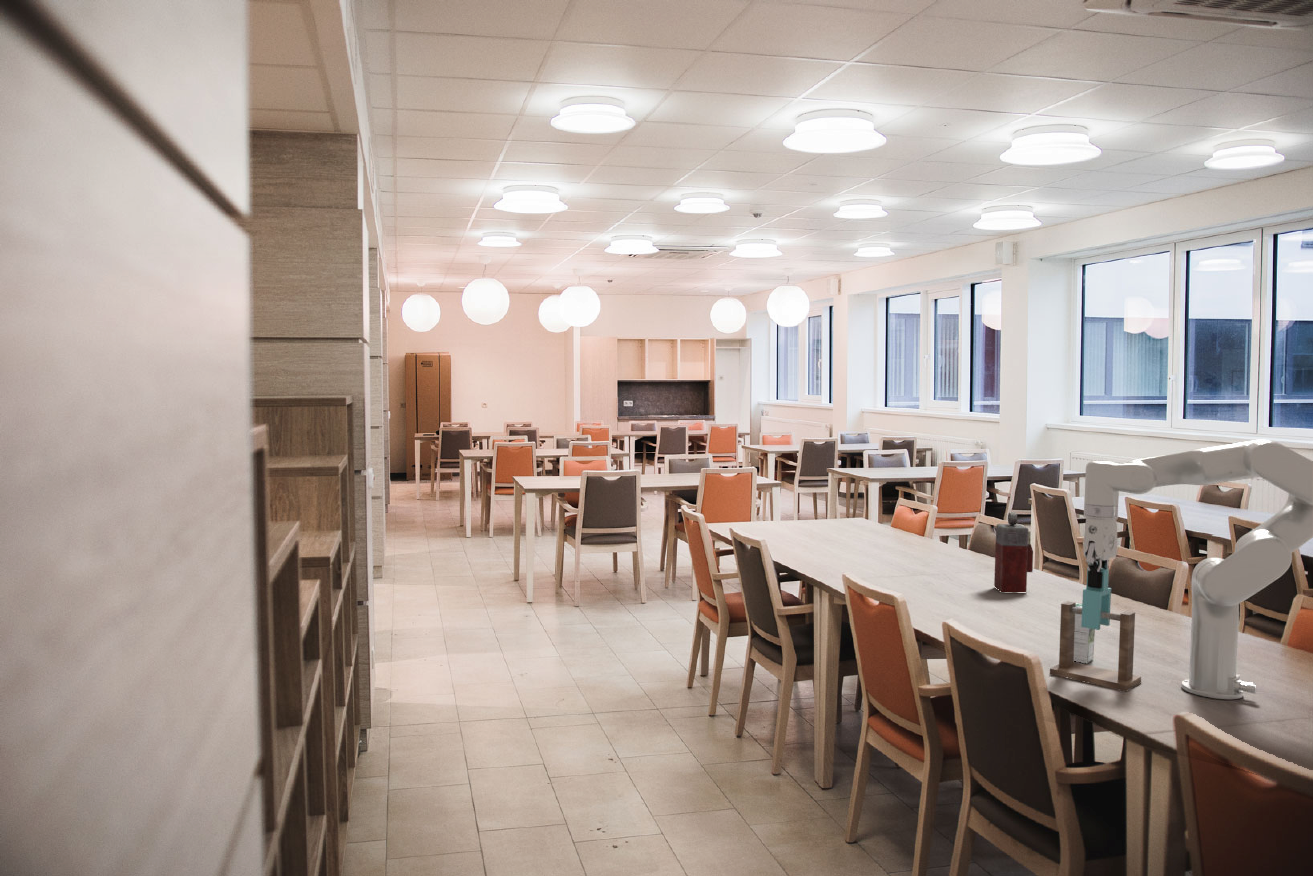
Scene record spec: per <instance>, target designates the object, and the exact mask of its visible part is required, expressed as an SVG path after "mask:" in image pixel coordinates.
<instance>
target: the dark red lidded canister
mask: <svg viewBox="0 0 1313 876" xmlns="http://www.w3.org/2000/svg"><path fill="white" fill-rule="evenodd" d="M1017 522H1018V514H1017V513H1016V512H1008V514H1007V523H998V524H997V523H996V526H995V548H994V549H995V551H994V552H995V553H994V554H995V555H994V578H993V579H994V582H993V583H994V584H993V585H994V586H995V587H996V588H997V589H999V591H1001V592H1026V593H1027V585H1028V573H1033V569H1034V568H1033V567H1034V565H1033V564H1034V563H1033V562H1034V550H1033V547H1032V544H1031V543H1029V528H1028V527H1026V526H1024V525H1022V524H1017ZM999 591H998V592H999Z"/></svg>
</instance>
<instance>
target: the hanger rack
mask: <svg viewBox="0 0 1313 876" xmlns="http://www.w3.org/2000/svg"><path fill="white" fill-rule="evenodd" d="M1076 603H1077V602H1073V601H1064V602H1062V603H1061V604H1060V624H1059V625H1060V626H1059V627H1060V629H1059V654H1058V657H1059V658H1058V664H1057V665H1054V666H1052V667H1050V668H1049V675H1050V674H1052V675H1051V676H1054V675H1056V676H1055V677H1059V676H1060V678H1063V677H1068V678H1072V679H1071V680H1073V679H1075V680H1074V681H1077V680H1079V681H1078V682H1082V681H1085V682H1084V683H1086V682H1089V683H1088V684H1091V683H1093V684H1092V685H1095V684H1096V685H1097V686H1100V685H1102V686H1101V687H1104V686H1106V687H1105V688H1109V687H1110V689H1114V690H1118V689H1120V690H1119V691H1122V690H1124V691H1123V692H1128V691H1129V689H1130V690H1131V689H1133V688H1134V686H1135V685H1136V686H1138V685H1140V684H1141V683H1142V676H1140V675H1135V674H1133V673H1134V653H1135V652H1134V649H1135V648H1134V647H1135V627H1136V625H1135V623H1136V612H1134V611H1129V610H1126V611H1122V612H1121V613H1120V614H1118V613H1113V612H1112V613H1111V612H1110V613H1107V612H1101V618H1105V619H1110V621H1111V620H1112V621H1117V622H1119V640H1118V641H1119V642H1118V667H1117V668H1118V670H1117V671H1116V670H1112V669H1107V668H1101V667H1097V666H1092V665H1087V664H1084V663H1079V662H1074V634H1075V613H1076V614H1082V608H1077V607H1076ZM1068 678H1067V679H1068ZM1140 682H1141V683H1140ZM1139 683H1140V684H1139ZM1096 685H1095V686H1096ZM1136 686H1135V687H1136ZM1132 687H1133V688H1132ZM1127 690H1128V691H1127Z"/></svg>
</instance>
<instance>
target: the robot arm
mask: <svg viewBox="0 0 1313 876" xmlns="http://www.w3.org/2000/svg"><path fill="white" fill-rule="evenodd" d="M1084 476H1085V478H1084V503H1083V517H1084V518H1086V519H1085V525H1084V535H1083V536H1084V537H1083V548H1082V550H1083V556H1084V558H1086V559H1085V562H1086V564H1087V568H1088V587H1092V588H1098V589H1101V588H1102V574H1103V572H1101V568H1105V569H1109V567H1110V564H1109V563H1110V560H1111V559H1113V558H1116V557H1117V555H1118V523H1117V520H1118V519H1119V497H1120V496H1119V493H1120V492H1123V493H1128V494H1133V495H1143V494H1147V493H1149V492H1151V491H1152V490H1153V489H1154V488H1159V487H1166V486H1167V487H1168V486H1175V485H1192V486H1209V485H1214V484H1222V483H1227V482H1234V481H1242V480H1247V479H1255V478H1261V479H1263V480H1265V481H1266V482H1268V483H1269V484H1271V485H1273V486H1275V487H1276V488H1279V489H1280V490H1282V491H1284V492H1286V493H1288V497H1287V500H1286V502H1285V505H1284V506H1283V507H1282V508H1281V509H1280V510H1278V511H1277V512H1276V513H1275V514H1274V515H1273V516H1271V517H1270V518H1268V519H1267V520H1266V521H1264V522H1262V523H1261V524H1259V525H1258V526H1257V527H1255V528H1254V529H1252V530H1250V531H1249V532H1247V533H1245V534H1244V535H1242V536H1241V537H1240V538H1239V539H1237V542H1236V543H1235V545H1234V552H1233V553H1232V554H1231V555H1229V556H1227V557H1226V558H1225V559H1224V558H1221V557H1207V558H1204V559H1202V560H1201V561H1200V562H1198V563H1197V564H1196V565H1195V567H1194V569H1193V570H1192V573H1191V580H1190V581H1191V603H1192V604H1191V627H1190V647H1189V648H1190V650H1189V651H1190V652H1189V672H1188V679H1184V680H1182V681H1181V685H1180V687H1181V688H1182V689H1183V690H1184V691H1185V692H1188V693H1190V694H1192V695H1197V696H1199V697H1205V698H1210V699H1217V700H1238V699H1241V698H1243V697H1244V692H1246V693H1248V694H1254V695H1256V694H1257V692H1258V685H1256V684H1254V683H1253V682H1247V681H1243V679H1242V680H1241V675H1240V674H1237V666H1238V665H1237V664H1238V645H1239V629H1240V628H1239V627H1240V626H1239V622H1240V606H1239V605H1240V604H1241V603H1242V602H1244V601H1246V600H1248V599H1249V598H1250V597H1252V596H1254V595H1256V594H1257V593H1258V592H1261V590H1263V589H1265V588H1267V586H1269V585H1270V584H1273V582H1275V581H1277V580H1278V579H1279V578H1281V577H1282V576H1283V575H1284V574H1286V572H1287V571H1288V570H1289V568H1290V566H1291V565H1292V561H1293V552H1295V551H1297V550H1298V549H1299V548H1301V547H1303V545H1305V544H1306V543H1307V542H1309V541H1310V540H1311V539H1312V538H1313V460H1311V459H1309V458H1307V457H1306V456H1303V455H1302V454H1301V453H1298V452H1296V451H1294V450H1293V449H1290V448H1289V447H1287V446H1285V445H1283V444H1282V443H1279V442H1277V441H1274V440H1268V439H1255V440H1254V439H1253V440H1248V441H1241V442H1237V443H1232V444H1231V443H1230V444H1225V445H1224V444H1223V445H1217V446H1211V447H1204V448H1200V449H1193V450H1189V451H1188V450H1187V451H1184V452H1177V453H1173V454H1172V453H1171V454H1165V455H1157V456H1152V457H1146V458H1139V459H1134V460H1133V459H1132V460H1130V461H1128V462H1125V463H1117V462H1114V461H1108V460H1107V461H1106V460H1105V461H1104V460H1093V461H1089V462H1087V464H1086V466H1085V474H1084ZM1109 570H1110V569H1109Z"/></svg>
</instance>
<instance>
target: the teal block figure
mask: <svg viewBox="0 0 1313 876" xmlns="http://www.w3.org/2000/svg"><path fill="white" fill-rule="evenodd" d="M1109 571H1110V569H1105V568H1101V572H1103V574H1102V588H1101V589H1098V588H1092V587H1088V567H1087V569H1086V587H1085V588H1084V589H1082V603H1081V604H1082V623H1081V627H1085V628H1090V629H1095V631H1099V630H1101V626H1106V627H1108V626H1110V625H1111V623H1110V622H1111V619H1105V618H1101V612H1107V613H1111V605H1112V603H1111V601H1112V588H1111V587H1109V575H1110V574H1109Z"/></svg>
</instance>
